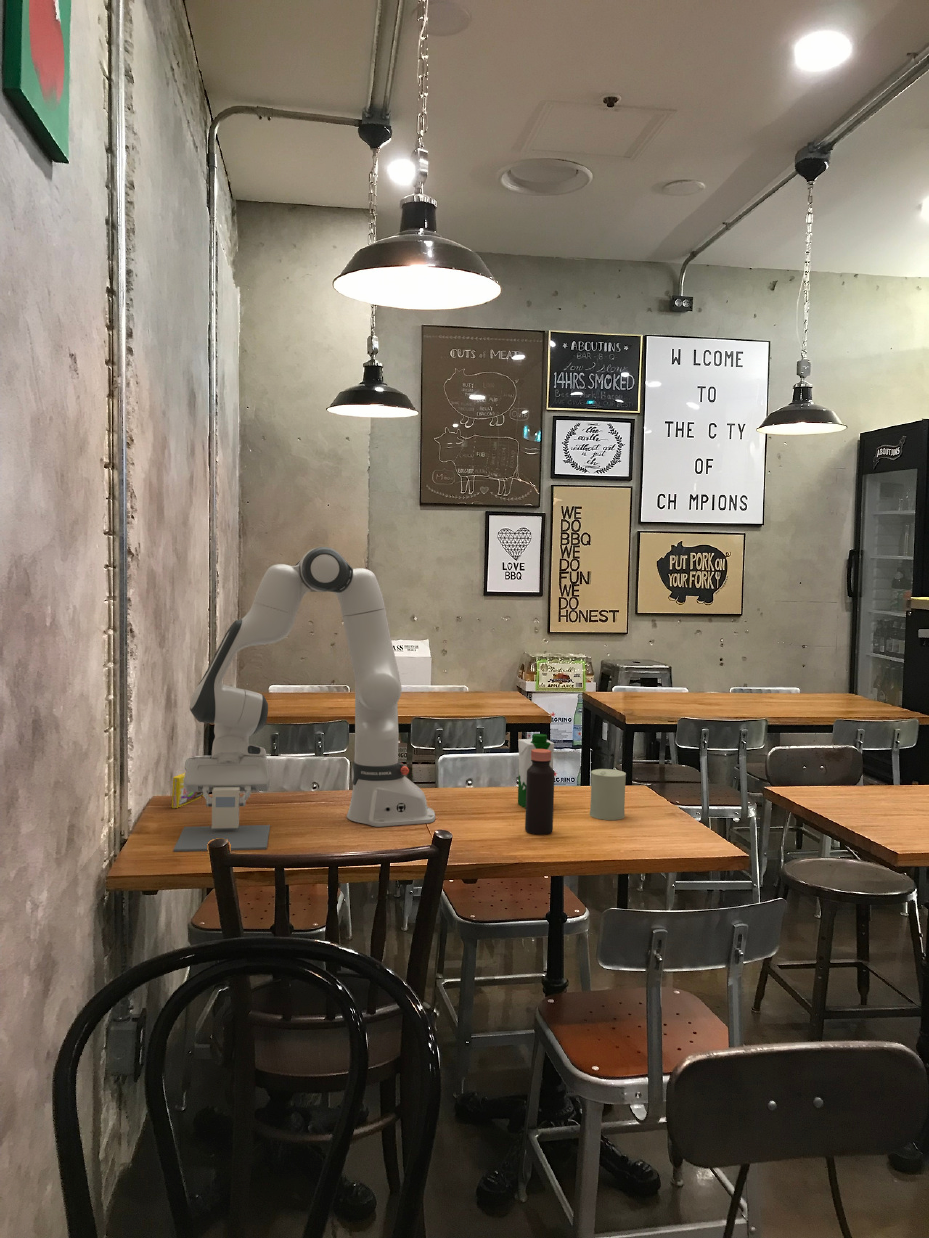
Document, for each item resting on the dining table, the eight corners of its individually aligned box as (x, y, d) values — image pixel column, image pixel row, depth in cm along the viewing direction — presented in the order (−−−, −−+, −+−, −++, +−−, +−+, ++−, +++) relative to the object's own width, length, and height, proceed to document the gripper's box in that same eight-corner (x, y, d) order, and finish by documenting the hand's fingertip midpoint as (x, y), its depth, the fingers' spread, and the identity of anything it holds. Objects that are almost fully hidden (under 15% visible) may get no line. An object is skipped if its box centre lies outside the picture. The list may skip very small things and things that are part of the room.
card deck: (238, 824, 214) (239, 787, 213) (237, 828, 211) (238, 790, 210) (212, 824, 213) (213, 787, 212) (211, 828, 210) (212, 790, 209)
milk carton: (525, 811, 239) (527, 736, 238) (513, 803, 247) (515, 731, 246) (555, 809, 241) (558, 735, 241) (542, 801, 250) (544, 730, 249)
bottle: (524, 827, 223) (526, 747, 222) (551, 828, 223) (554, 748, 222) (525, 834, 217) (527, 752, 216) (553, 835, 216) (556, 753, 216)
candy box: (178, 809, 232) (178, 777, 232) (170, 808, 232) (171, 777, 232) (208, 795, 248) (208, 765, 248) (201, 794, 248) (201, 764, 248)
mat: (269, 827, 217) (269, 825, 217) (266, 849, 200) (266, 847, 200) (184, 828, 214) (184, 826, 214) (173, 851, 196) (173, 849, 196)
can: (582, 815, 236) (584, 770, 236) (602, 809, 243) (603, 765, 242) (612, 822, 230) (613, 776, 229) (631, 816, 237) (633, 771, 236)
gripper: (185, 748, 216) (178, 798, 207) (271, 748, 220) (269, 797, 210) (187, 763, 221) (180, 812, 211) (271, 762, 224) (269, 811, 215)
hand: (225, 805), depth 211 cm, fingers closed on card deck, 6 cm apart
